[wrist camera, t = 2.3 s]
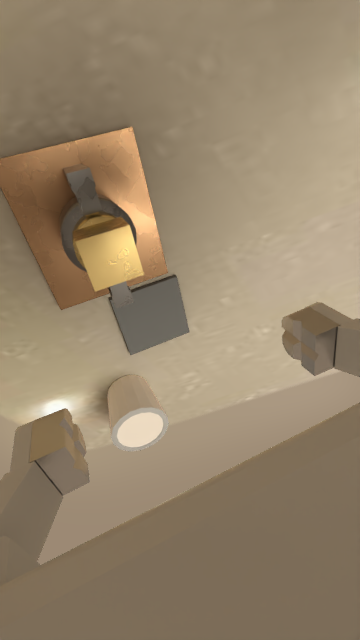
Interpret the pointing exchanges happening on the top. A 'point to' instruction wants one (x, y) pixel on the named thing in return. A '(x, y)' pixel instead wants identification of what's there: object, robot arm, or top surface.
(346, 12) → the top surface
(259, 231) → the top surface
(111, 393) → the white cylinder
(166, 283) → the mat
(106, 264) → the cap
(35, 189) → the drum on wooden base
